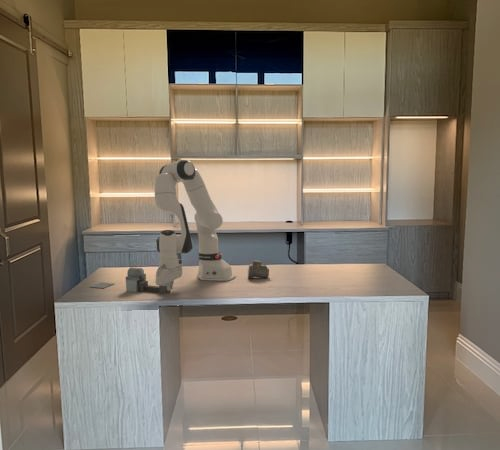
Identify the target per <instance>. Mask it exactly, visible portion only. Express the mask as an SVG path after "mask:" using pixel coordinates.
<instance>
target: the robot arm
mask: <svg viewBox="0 0 500 450" xmlns="http://www.w3.org/2000/svg"><path fill="white" fill-rule="evenodd" d="M178 183H182V184H183V186H184V189H185V191H186V192H185V193H186V195H187V196H188V200H189V202H190V204H191V206H192V207H193V208H194V210H195V211H196V212H195V213H194V222H195V225H196V231H197V236H198V250H199V251H198V262H199V263H198V270H197V271H198V272H197V275H196V277H197V279H200V281H214V282H215V281H216V282H217V281H218V282H219V281H220V282H228V281H231V280H233V279H235V278H237V275H236V273H233V270H232V269H233V268H232V266H231V265H230V264H229V263H227V261H225V260H224V259H222V256H223V253H220V251H219V237H218V234H217V231H216V230H217V229H220V227H221V226H223V222H224V221H223V216H222V215H221V214H220V212H219V211H218V209H217V207H216V205H215V203H214V202H213V200H212V198H211V196H210V194H209V191H208V189H207V187H206V184H205V181H204V179H203V177H202V175H201V174H200V172H199V171H198V169H196V168H195V165H194V164H193V163H192V162H191V161H190V160H188V159H181V160H177V161H172V162H170V163H168V164H165V165H163V166H162V167H160V170H159V173H158V174H157V175H156V177H155V183H154V202H155V205H156V206H157V208H158V209H159V210H161V211H163V212H165V213H167V214H172V215H173V216H175V217H176V218H177V219H178V222H179V226H180V230H181V233H180V234H176V231H175V230H172V229H165V230H161V231H160V233H159V236H158V237H157V239H156V241H155V242H156V251H157V252H158V253H159V266H158V268H157V269H156V272H155V284H156V285H155V286H159V285H160V286H162V285H166V287H167V290H168V291H170V290H173V288H174V287H173V286H174V284H175V281H176V280H177V279H179V278H182V276H183V259H181V258H178V254H188V253H190V252H191V251H192V250H193V248H194V242H193V238H192V235H191V232H190V228H189V225H188V218H187V216H186V211H185V208H184V205H183V204H182V203H180V202H179V200H178V197H177V188H176V185H177V184H178Z"/></svg>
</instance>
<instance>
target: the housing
mask: <svg viewBox="0 0 500 450" xmlns="http://www.w3.org/2000/svg"><path fill="white" fill-rule="evenodd" d="M126 274H127V276H125V288H126V289H125V290H126V291H125V292H131V293H137V292H139V291H138V289H137V281H139V280H143V281H147V273H145V270H144V268H142V267H135V266H134V267H133V266H131V267H129V268H128V270H127V273H126Z"/></svg>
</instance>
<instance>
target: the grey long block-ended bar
mask: <svg viewBox="0 0 500 450" xmlns="http://www.w3.org/2000/svg"><path fill="white" fill-rule="evenodd" d="M137 289H138V292H149V293H157V294H165V295H166V294H169V293H171V290H172V289H171V290H170V291H168V290H167V287H166V285H162V286H160V285H149V281H148V280H146V281H143V280H139V281H137Z"/></svg>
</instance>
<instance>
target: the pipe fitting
mask: <svg viewBox="0 0 500 450" xmlns="http://www.w3.org/2000/svg"><path fill="white" fill-rule="evenodd" d="M269 276H270V269H269V267H268V266H267V264H263V263H262V260H261V261H260V260H252V263H250V264H249V265H248V269H247V278H248V279H253V278H262V279H268V278H269Z"/></svg>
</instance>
